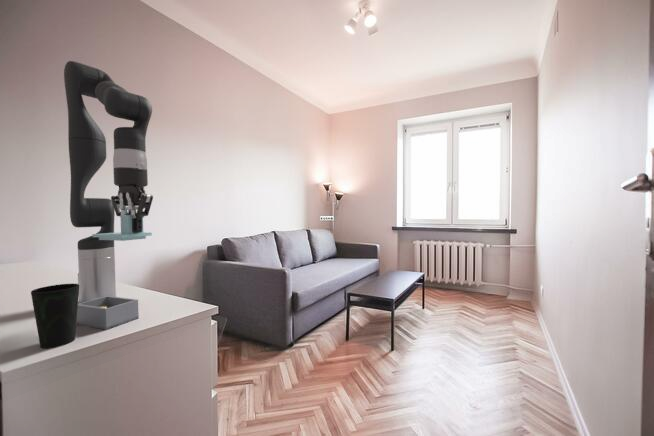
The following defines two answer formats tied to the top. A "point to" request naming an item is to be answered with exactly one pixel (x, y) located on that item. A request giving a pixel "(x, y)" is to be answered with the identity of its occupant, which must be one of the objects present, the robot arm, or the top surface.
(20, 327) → the top surface
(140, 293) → the top surface
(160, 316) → the top surface
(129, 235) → the lid
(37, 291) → the cup
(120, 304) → the tub
